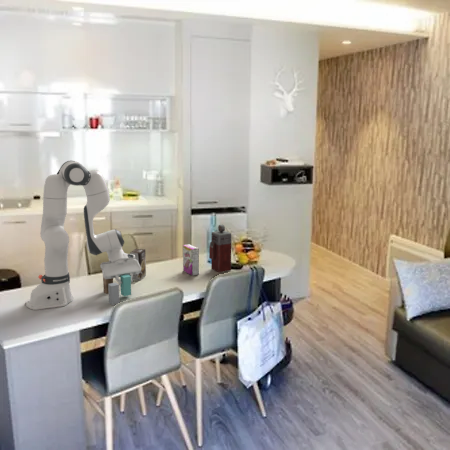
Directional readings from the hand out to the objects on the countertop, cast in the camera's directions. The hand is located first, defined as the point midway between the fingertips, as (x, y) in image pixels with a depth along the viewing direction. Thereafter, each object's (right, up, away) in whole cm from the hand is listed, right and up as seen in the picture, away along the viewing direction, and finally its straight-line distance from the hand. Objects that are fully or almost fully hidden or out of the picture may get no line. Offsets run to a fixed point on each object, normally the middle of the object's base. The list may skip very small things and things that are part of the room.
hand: (126, 283), depth 264 cm
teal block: (-1, -6, +2) cm, 6 cm away
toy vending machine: (+47, +2, +50) cm, 69 cm away
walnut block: (-11, -6, +9) cm, 16 cm away
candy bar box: (+30, +1, +43) cm, 53 cm away
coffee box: (+1, -1, +34) cm, 34 cm away
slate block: (-5, -9, -7) cm, 12 cm away
